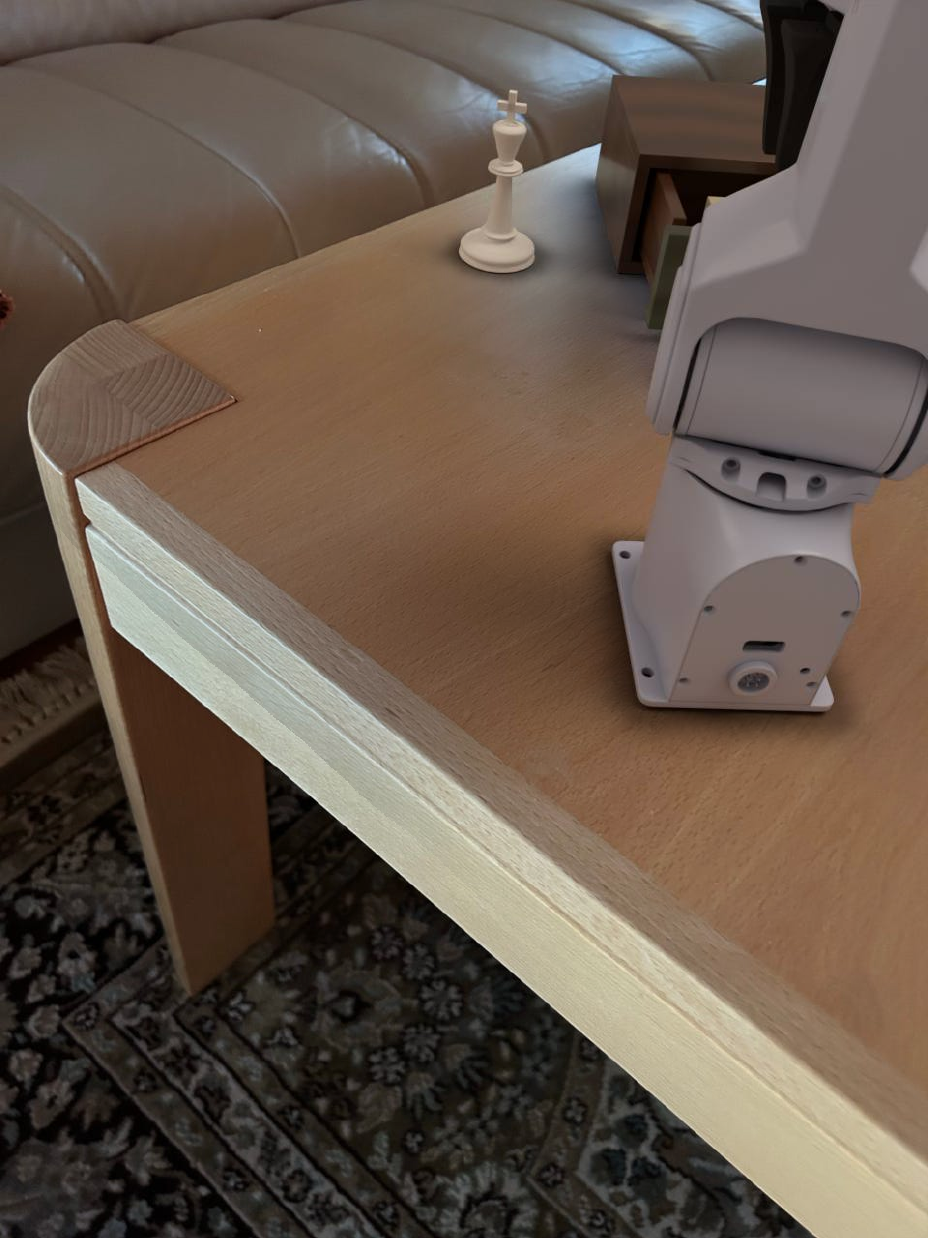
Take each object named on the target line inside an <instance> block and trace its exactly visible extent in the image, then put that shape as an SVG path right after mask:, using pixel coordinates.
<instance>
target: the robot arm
mask: <svg viewBox="0 0 928 1238" xmlns="http://www.w3.org/2000/svg"><path fill="white" fill-rule="evenodd" d="M759 11H760V16H761V22H762V27H763V34H764V35H763V36H764V44H765V63H766V64H765V85H766V88H765V102H764V114H763V128H762V150H763V152H764V154H765V155H776V156H775V174H776V175H774V176H772V177H770V178H767V179H765V180H763V181H761V182H758V183H756V184H754V185H751V186H749V187H747V188H745V189H742V190H740V191H738V192H736V193H734V194H731V195H729V196H727V197H725V198H723V199H721V200H719V201H717V202H715V203H713V204H711V205H710V206H708V207H707V208H706V209H705V210H704V214H703V218H702V221H701V223H697V224H696V225H695V226H693V227H692V230H691V234H690V238H689V242H688V245H687V249H686V253H685V257H684V261H683V264H682V266H680V267H679V268H678V270H677V273H676V277H675V281H674V284H673V288H672V292H671V296H670V301H669V305H668V309H667V313H666V317H665V322H664V326H663V330H661V335H660V340H659V344H658V348H657V352H656V357H655V362H654V365H653V366H654V367H653V370H652V375H651V379H650V385H649V389H648V394H647V400H646V405H645V410H644V415H645V417H646V419H647V421H648V422H649V423H650V424H651V425H652V430H653V432H654V434H657V435H660V436H666V437H669V436H670V440H669V446H668V453H667V455H666V459H665V464H664V466H663V471H662V475H661V478H660V482H659V486H658V490H657V494H656V496H655V501H654V504H653V508H652V512H651V515H650V519H649V522H648V527H647V530H646V533H645V538H644V541H640V540H639V541H636V540H618V541H615V542H614V543H613V545H612V548H611V558H612V563H613V569H614V574H615V579H616V585H617V589H618V597H619V602H620V606H621V613H622V618H623V624H624V629H625V636H626V642H627V647H628V653H629V658H630V662H631V668H632V672H633V673H632V675H633V680H634V685H635V691H636V697H637V699H638V701H639V702H640V703H641V704H642V705H645V706H647V707H651V708H654V707H655V708H681V709H682V708H683V709H687V708H688V709H721V710H753V711H756V710H757V711H787V712H788V711H791V712H828V711H829V710H831V708H832V706H833V705H834V702H835V697H834V695H833V691H832V688H831V686H830V683H829V681H828V678H827V674H828V672H829V670H830V668H831V667H832V664H833V662H834V659H835V658H836V656H837V654H838V652H839V650H840V649H841V646H842V644H843V642H844V640H845V638H846V637H847V634H848V632H849V630H850V628H851V626H852V624H853V622H854V621H855V619H856V617H857V614H858V613H859V610H860V606H861V602H862V588H861V587H862V586H861V581H860V578H859V574H858V571H857V567H856V563H855V560H854V555H853V545H852V527H853V526H852V525H853V519H854V510H855V508H856V504H857V503H859V504H864V505H865V504H866V505H868V504H871V503H872V500H873V499H874V496H875V494H876V492H877V490H878V487H880V486H879V485H880V483H881V482H882V479H884V480H888V481H893V482H901V481H905V480H907V479H908V478H910V477H912V476H913V475H914V473H915V472H917V471H918V470H920V469H921V468H923V467H925V466H926V465H927V464H928V0H759ZM670 434H671V435H670ZM645 675H648V676H649V677H648V676H645Z"/></svg>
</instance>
